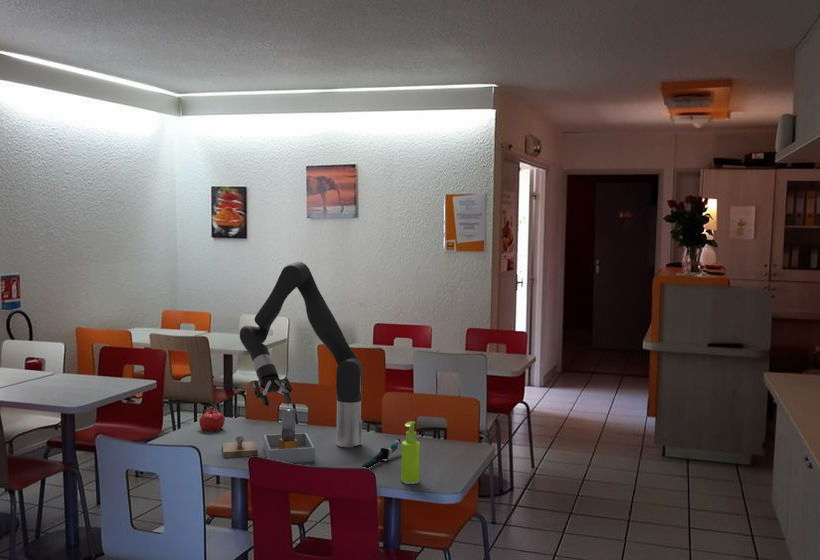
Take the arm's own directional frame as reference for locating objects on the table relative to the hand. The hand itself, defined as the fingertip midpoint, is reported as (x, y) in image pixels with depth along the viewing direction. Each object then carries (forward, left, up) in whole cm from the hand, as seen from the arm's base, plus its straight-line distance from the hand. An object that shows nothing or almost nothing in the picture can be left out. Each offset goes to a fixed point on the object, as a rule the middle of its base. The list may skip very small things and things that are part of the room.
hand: (278, 404), depth 287 cm
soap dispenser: (-38, +47, -17) cm, 63 cm away
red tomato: (+23, -34, -17) cm, 45 cm away
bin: (-3, +8, -17) cm, 19 cm away
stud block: (+14, +1, -17) cm, 22 cm away
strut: (-3, +8, -16) cm, 18 cm away
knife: (-33, +25, -17) cm, 45 cm away
